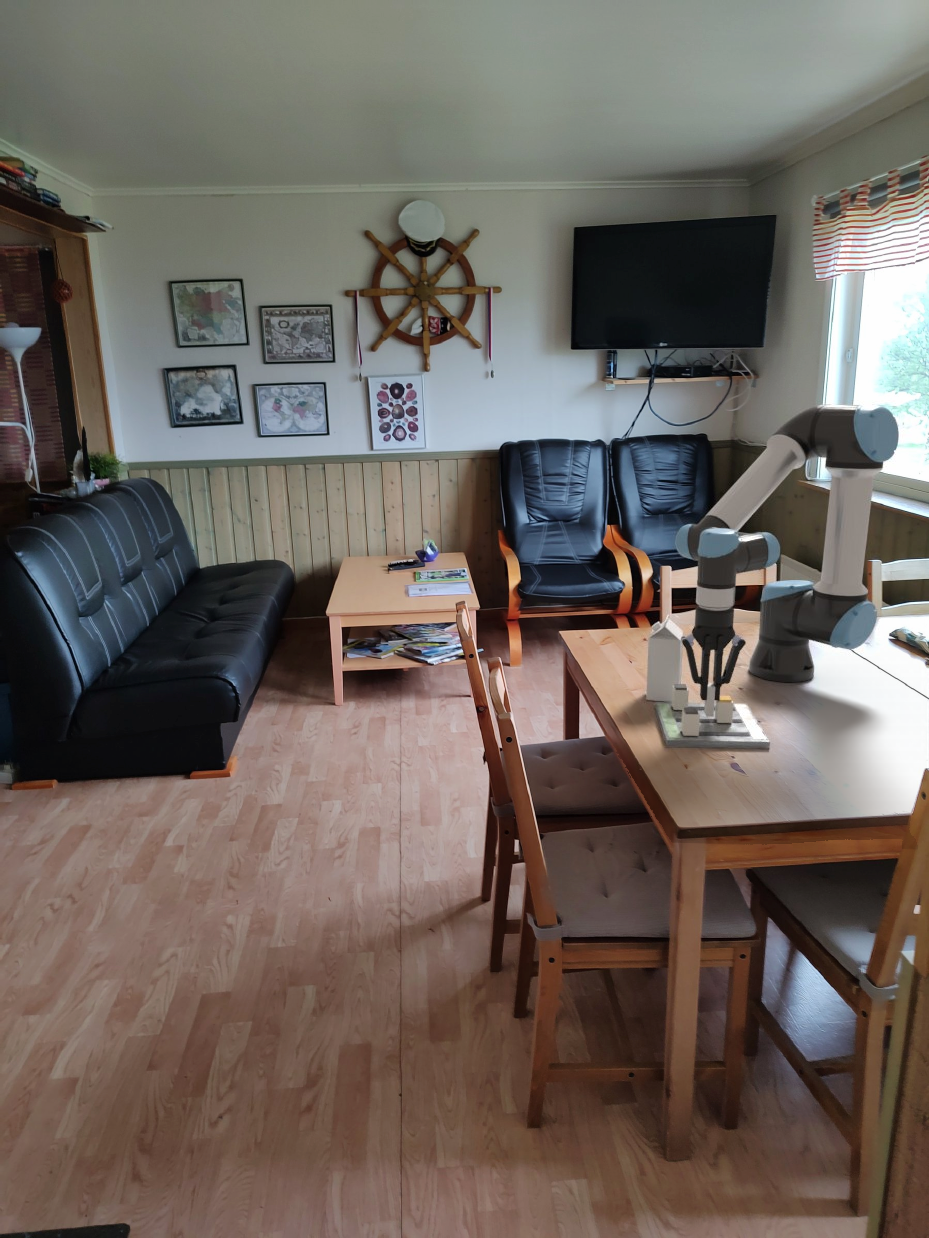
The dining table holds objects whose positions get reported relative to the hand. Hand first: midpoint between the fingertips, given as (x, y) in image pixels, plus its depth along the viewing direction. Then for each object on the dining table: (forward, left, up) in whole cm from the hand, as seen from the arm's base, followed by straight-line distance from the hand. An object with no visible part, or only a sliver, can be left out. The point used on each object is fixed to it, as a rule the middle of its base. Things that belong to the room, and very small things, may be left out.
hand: (708, 714), depth 179 cm
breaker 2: (+5, +7, -1) cm, 9 cm away
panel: (0, 0, -3) cm, 3 cm away
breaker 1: (+5, -7, -1) cm, 9 cm away
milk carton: (+7, -18, -3) cm, 19 cm away
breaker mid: (-3, 0, -1) cm, 3 cm away
